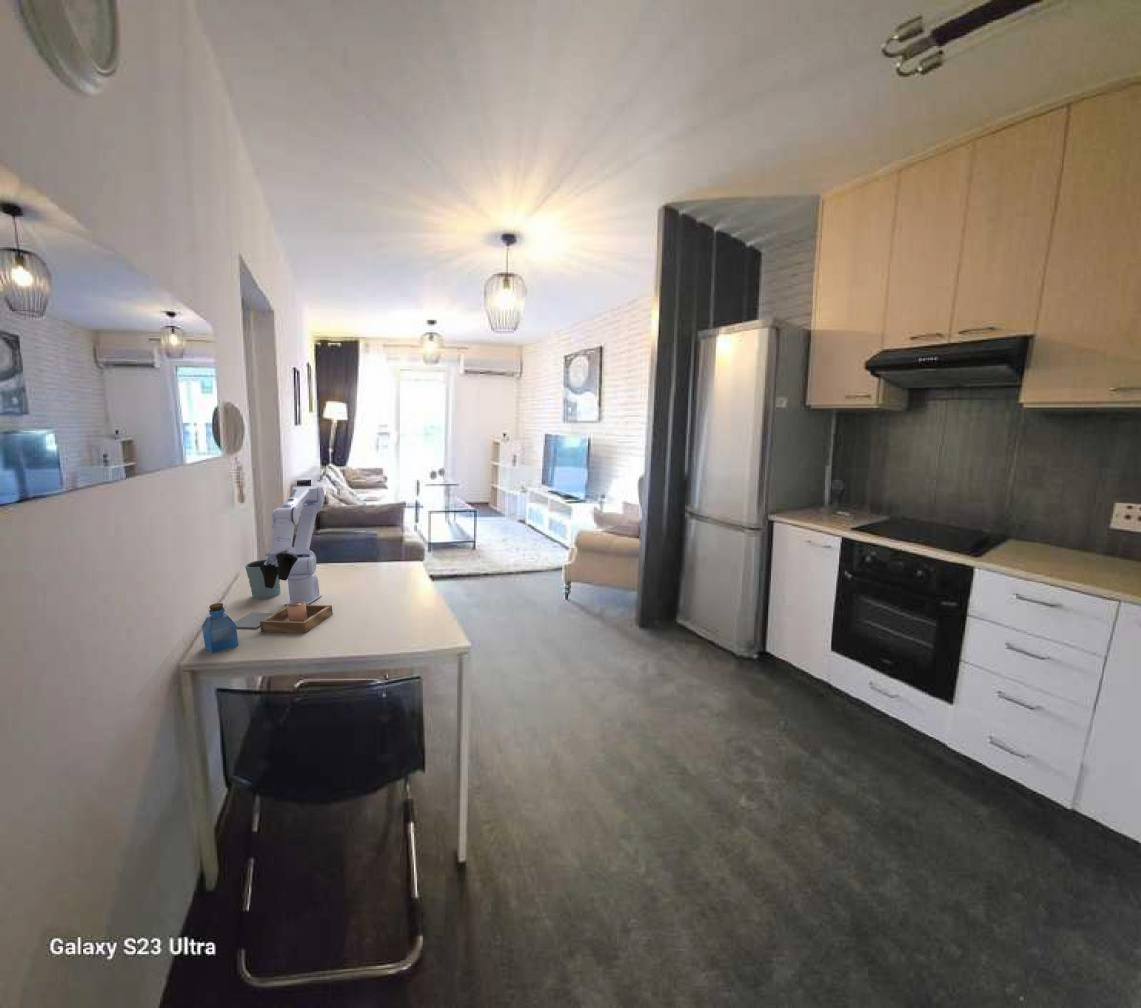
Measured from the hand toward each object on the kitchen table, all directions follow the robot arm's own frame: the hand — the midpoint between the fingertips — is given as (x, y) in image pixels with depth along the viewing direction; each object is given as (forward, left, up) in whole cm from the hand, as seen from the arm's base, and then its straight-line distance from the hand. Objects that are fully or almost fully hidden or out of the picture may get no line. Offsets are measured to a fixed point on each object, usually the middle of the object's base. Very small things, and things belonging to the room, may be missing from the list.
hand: (275, 583), depth 148 cm
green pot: (-25, -24, -14) cm, 37 cm away
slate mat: (-3, -11, -13) cm, 18 cm away
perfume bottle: (+14, -8, -14) cm, 21 cm away
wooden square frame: (-3, +3, -13) cm, 14 cm away
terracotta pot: (-3, +3, -14) cm, 14 cm away
